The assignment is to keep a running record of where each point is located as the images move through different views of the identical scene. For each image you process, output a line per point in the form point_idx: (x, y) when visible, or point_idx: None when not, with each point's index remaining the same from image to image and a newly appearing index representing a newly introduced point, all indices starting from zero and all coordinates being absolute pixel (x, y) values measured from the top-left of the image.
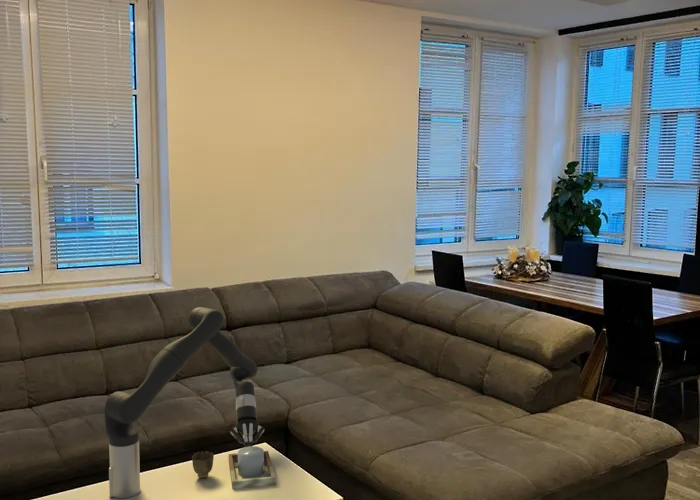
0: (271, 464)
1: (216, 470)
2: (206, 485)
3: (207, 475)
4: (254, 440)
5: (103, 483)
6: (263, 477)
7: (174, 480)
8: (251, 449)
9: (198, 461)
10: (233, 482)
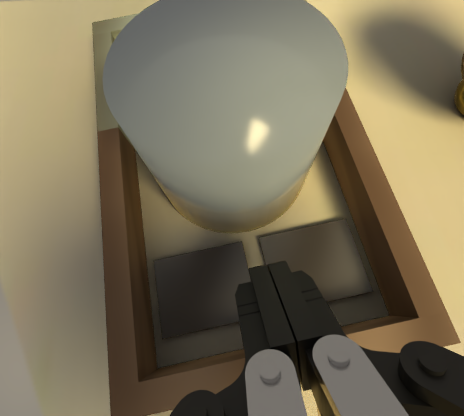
0: (100, 159)
1: (441, 183)
2: (419, 38)
3: (459, 85)
4: (218, 399)
5: None
6: None
7: None
8: (222, 100)
9: None
10: None
